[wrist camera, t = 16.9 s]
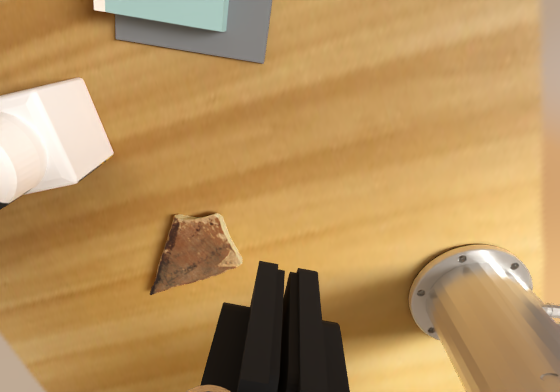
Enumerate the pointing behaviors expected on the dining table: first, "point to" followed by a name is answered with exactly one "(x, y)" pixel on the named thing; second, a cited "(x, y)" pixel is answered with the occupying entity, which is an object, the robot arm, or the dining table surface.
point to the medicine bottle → (49, 138)
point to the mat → (207, 32)
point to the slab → (172, 11)
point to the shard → (195, 251)
